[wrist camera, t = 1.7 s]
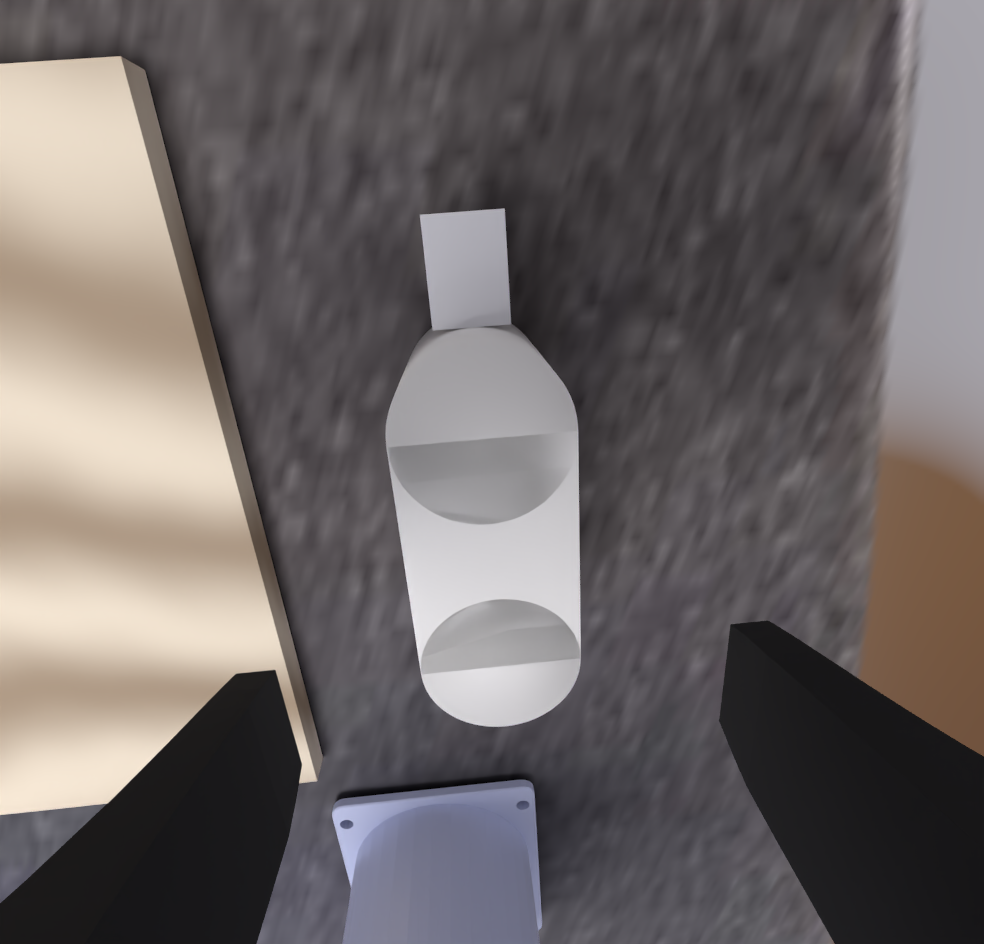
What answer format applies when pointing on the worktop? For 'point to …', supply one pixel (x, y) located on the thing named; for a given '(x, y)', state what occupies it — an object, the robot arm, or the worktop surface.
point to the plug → (486, 490)
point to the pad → (114, 455)
